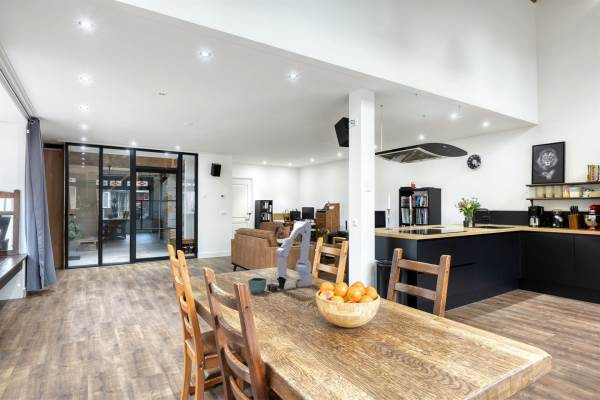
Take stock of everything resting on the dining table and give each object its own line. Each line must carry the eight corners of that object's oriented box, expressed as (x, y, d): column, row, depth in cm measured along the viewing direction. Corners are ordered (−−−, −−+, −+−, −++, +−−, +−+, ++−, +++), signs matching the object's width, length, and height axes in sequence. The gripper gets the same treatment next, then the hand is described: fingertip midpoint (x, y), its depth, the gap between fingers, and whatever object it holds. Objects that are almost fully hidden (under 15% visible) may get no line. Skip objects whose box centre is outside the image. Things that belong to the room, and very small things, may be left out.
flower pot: (247, 295, 205) (247, 280, 205) (253, 291, 213) (254, 277, 214) (261, 296, 203) (261, 281, 203) (266, 292, 211) (266, 278, 211)
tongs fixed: (298, 285, 226) (298, 278, 226) (302, 286, 222) (302, 279, 222) (267, 290, 212) (267, 282, 212) (270, 291, 208) (270, 284, 208)
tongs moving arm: (293, 287, 220) (293, 281, 220) (295, 287, 218) (295, 282, 218) (270, 291, 209) (270, 285, 209) (272, 292, 207) (272, 286, 207)
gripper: (270, 266, 215) (270, 287, 214) (282, 269, 203) (282, 292, 202) (280, 265, 219) (280, 286, 218) (292, 268, 207) (292, 290, 206)
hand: (281, 289), depth 210 cm, fingers closed
